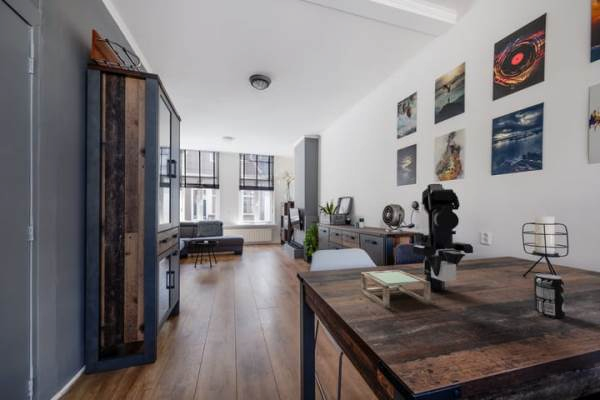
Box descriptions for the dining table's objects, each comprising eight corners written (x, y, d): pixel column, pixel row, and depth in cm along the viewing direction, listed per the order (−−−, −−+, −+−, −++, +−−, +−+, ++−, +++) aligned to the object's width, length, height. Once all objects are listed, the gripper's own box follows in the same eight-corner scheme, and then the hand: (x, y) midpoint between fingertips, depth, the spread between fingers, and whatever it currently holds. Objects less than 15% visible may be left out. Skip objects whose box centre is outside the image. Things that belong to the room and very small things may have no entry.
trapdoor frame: (400, 287, 102) (399, 269, 102) (431, 304, 85) (430, 282, 85) (360, 291, 98) (360, 272, 98) (385, 308, 81) (384, 285, 81)
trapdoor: (398, 274, 99) (397, 271, 99) (420, 283, 87) (420, 280, 87) (368, 276, 96) (368, 273, 96) (387, 286, 84) (387, 283, 84)
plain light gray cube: (443, 275, 82) (443, 260, 83) (456, 280, 78) (456, 264, 78) (431, 276, 81) (431, 261, 81) (443, 281, 76) (443, 265, 77)
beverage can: (556, 311, 78) (554, 273, 79) (570, 320, 72) (569, 279, 73) (530, 308, 81) (529, 272, 81) (542, 317, 74) (541, 277, 75)
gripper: (445, 224, 90) (446, 267, 90) (401, 226, 86) (402, 270, 85) (473, 227, 79) (475, 275, 79) (425, 229, 75) (426, 280, 74)
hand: (443, 275), depth 80 cm, fingers closed on plain light gray cube, 5 cm apart
